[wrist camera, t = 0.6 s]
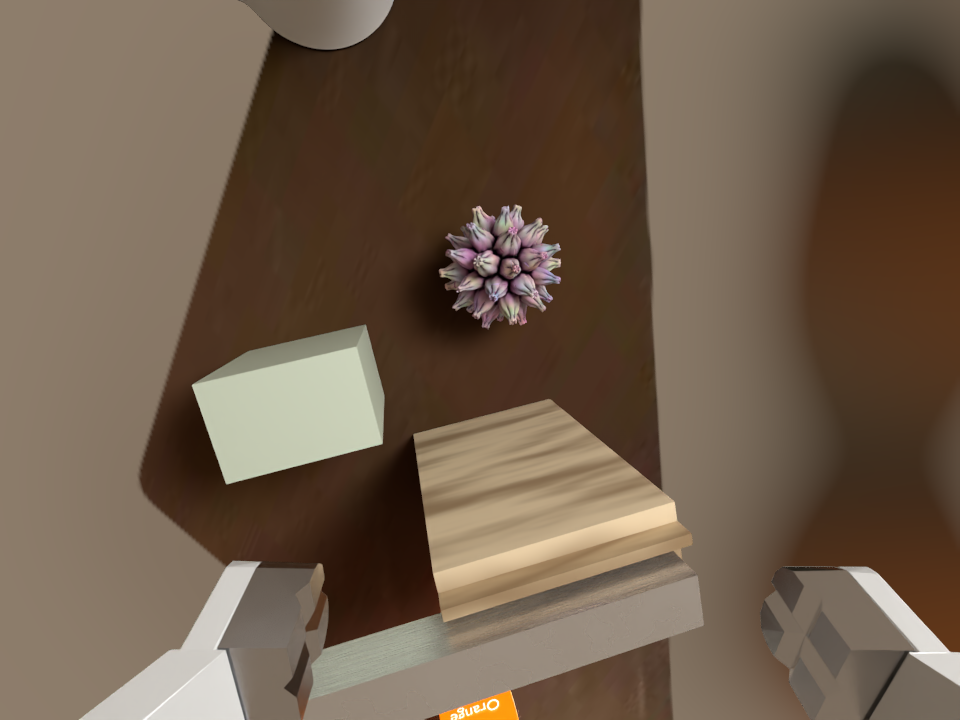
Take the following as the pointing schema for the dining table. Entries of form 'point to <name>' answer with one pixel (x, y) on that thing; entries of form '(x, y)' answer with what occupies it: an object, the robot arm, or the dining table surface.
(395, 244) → the dining table surface
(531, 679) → the steel bar
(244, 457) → the sage block
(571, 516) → the oak stand
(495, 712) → the orange juice
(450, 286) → the flower
